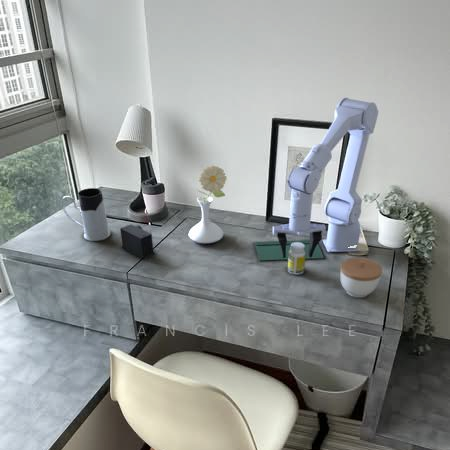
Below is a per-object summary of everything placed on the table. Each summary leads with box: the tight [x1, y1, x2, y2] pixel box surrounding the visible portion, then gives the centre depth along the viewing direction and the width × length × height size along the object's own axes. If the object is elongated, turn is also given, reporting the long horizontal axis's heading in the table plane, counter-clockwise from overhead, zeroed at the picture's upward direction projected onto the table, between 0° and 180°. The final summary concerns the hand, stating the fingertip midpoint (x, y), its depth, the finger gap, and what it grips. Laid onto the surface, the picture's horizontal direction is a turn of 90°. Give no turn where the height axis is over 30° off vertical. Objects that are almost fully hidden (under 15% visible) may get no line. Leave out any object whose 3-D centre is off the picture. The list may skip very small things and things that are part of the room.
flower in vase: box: [188, 165, 228, 244], centre depth 152 cm, size 13×11×25 cm
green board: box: [254, 239, 325, 262], centre depth 152 cm, size 20×12×1 cm, turn 93°
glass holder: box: [60, 187, 111, 242], centre depth 158 cm, size 9×14×15 cm, turn 89°
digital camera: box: [120, 223, 154, 259], centre depth 152 cm, size 10×5×7 cm, turn 47°
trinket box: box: [339, 256, 383, 298], centre depth 130 cm, size 11×11×9 cm
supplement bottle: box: [287, 242, 306, 275], centre depth 140 cm, size 5×5×8 cm
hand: (296, 255), depth 139 cm, fingers open, 7 cm apart
